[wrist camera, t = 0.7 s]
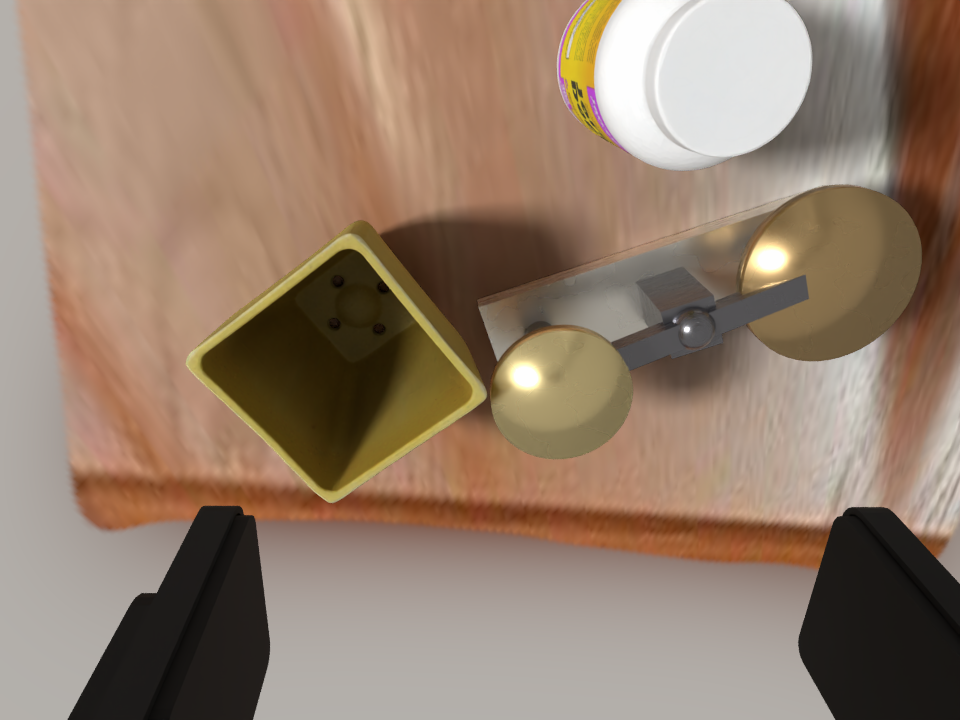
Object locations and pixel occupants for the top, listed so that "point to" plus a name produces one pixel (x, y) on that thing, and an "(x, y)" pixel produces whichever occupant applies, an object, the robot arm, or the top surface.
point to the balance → (695, 308)
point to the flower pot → (341, 365)
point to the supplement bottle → (685, 76)
